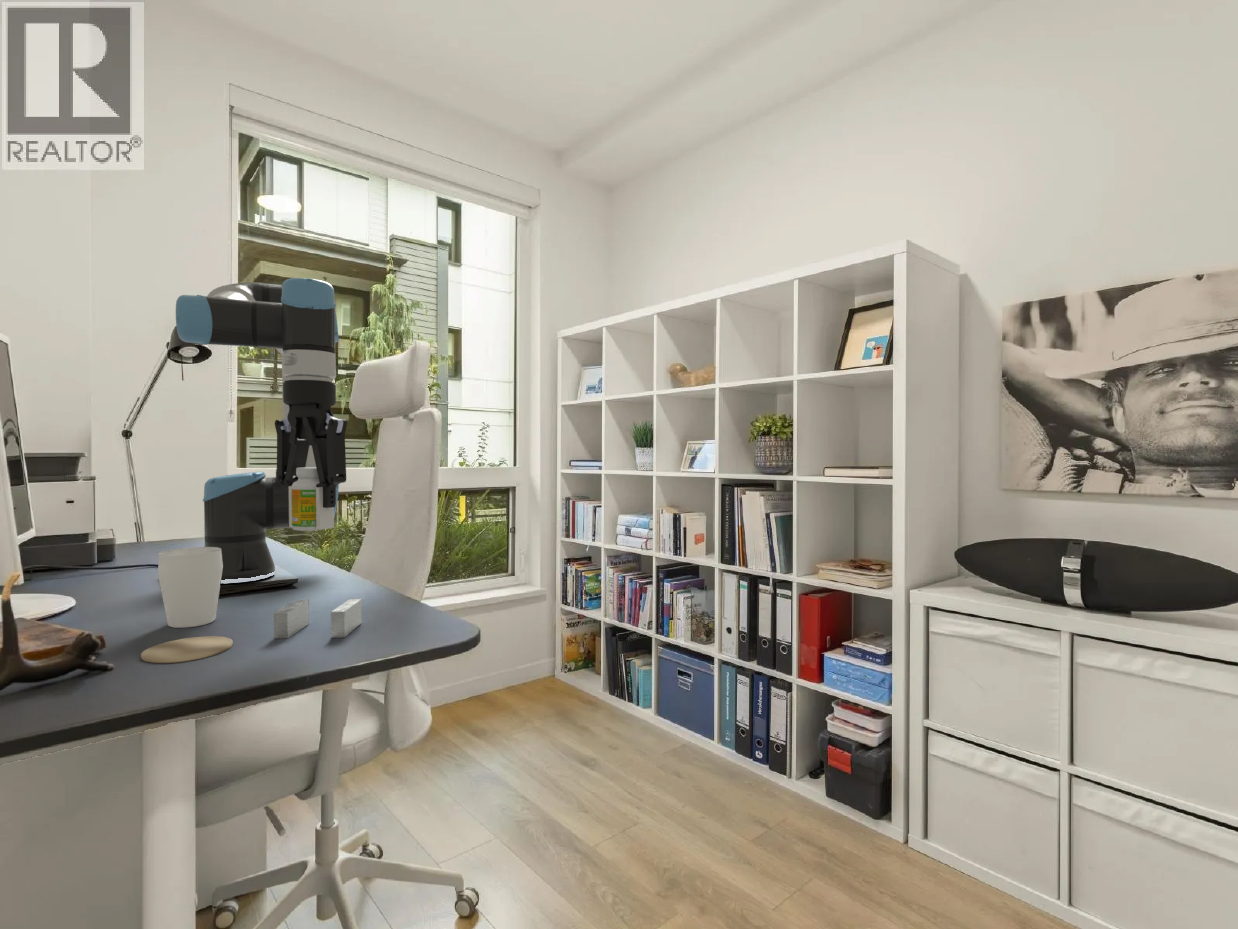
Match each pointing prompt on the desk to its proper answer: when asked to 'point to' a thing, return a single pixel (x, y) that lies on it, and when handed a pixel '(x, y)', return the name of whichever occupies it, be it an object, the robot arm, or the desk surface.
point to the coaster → (186, 649)
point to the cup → (190, 585)
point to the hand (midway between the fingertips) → (311, 527)
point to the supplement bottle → (304, 499)
